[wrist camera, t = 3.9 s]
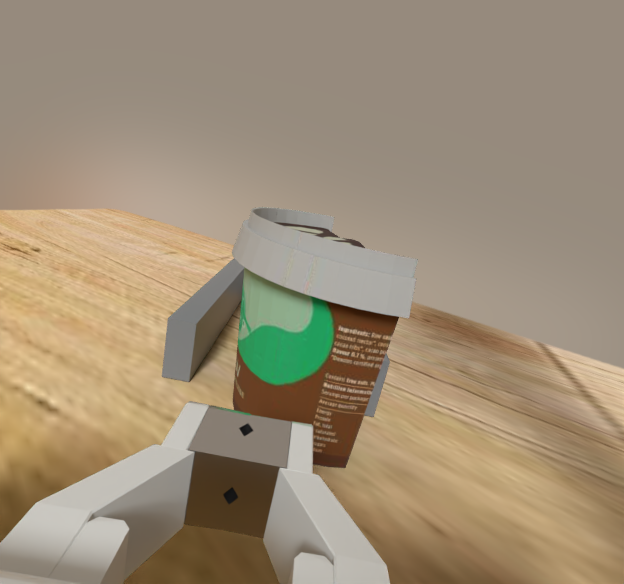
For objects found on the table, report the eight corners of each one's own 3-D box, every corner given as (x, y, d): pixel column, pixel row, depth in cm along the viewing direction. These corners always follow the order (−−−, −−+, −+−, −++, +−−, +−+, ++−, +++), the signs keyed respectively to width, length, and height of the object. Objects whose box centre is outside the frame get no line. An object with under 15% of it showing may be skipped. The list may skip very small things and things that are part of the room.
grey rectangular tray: (348, 311, 38) (356, 279, 37) (373, 416, 21) (389, 361, 20) (232, 288, 38) (237, 254, 37) (161, 376, 21) (168, 318, 20)
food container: (213, 346, 25) (235, 197, 22) (301, 354, 27) (331, 215, 24) (202, 497, 14) (243, 231, 11) (356, 495, 15) (425, 262, 13)
